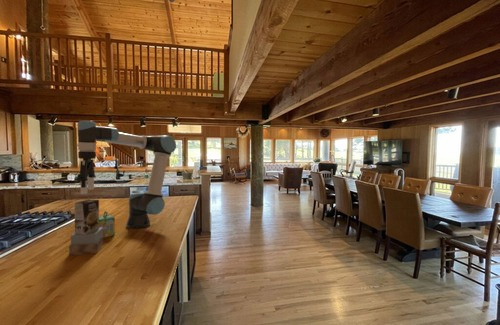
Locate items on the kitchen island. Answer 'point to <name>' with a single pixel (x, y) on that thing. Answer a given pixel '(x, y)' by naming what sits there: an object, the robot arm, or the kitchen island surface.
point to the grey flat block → (87, 237)
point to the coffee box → (86, 216)
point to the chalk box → (107, 224)
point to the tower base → (85, 248)
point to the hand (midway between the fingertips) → (87, 191)
